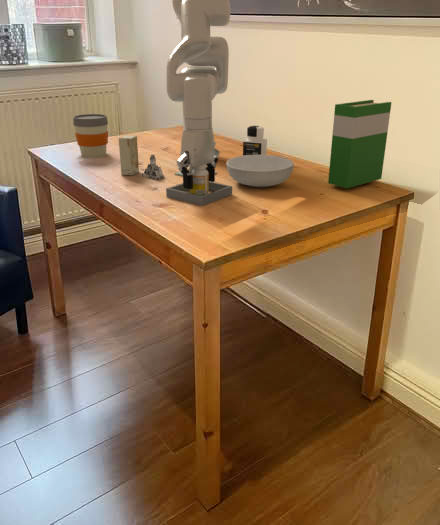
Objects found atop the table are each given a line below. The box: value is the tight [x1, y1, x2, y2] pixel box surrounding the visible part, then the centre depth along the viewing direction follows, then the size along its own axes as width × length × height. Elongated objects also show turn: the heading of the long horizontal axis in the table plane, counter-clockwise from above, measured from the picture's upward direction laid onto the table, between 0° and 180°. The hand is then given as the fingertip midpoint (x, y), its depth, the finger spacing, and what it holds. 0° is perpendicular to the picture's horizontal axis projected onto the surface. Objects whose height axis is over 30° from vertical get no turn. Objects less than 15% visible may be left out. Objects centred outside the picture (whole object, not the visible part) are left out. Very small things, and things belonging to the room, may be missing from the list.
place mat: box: [174, 171, 218, 177], centre depth 172 cm, size 10×10×1 cm
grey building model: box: [141, 154, 165, 181], centre depth 169 cm, size 9×9×8 cm
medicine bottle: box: [242, 125, 268, 156], centre depth 190 cm, size 7×7×12 cm
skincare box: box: [118, 134, 140, 176], centre depth 171 cm, size 6×4×12 cm
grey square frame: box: [165, 181, 233, 207], centre depth 149 cm, size 14×14×2 cm
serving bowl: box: [225, 154, 295, 188], centre depth 161 cm, size 21×21×7 cm
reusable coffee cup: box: [72, 113, 109, 159], centre depth 192 cm, size 13×13×15 cm
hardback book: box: [327, 99, 392, 189], centre depth 160 cm, size 18×7×24 cm, turn 129°
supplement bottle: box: [189, 164, 210, 196], centre depth 148 cm, size 5×5×10 cm
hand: (199, 184), depth 149 cm, fingers open, 9 cm apart
